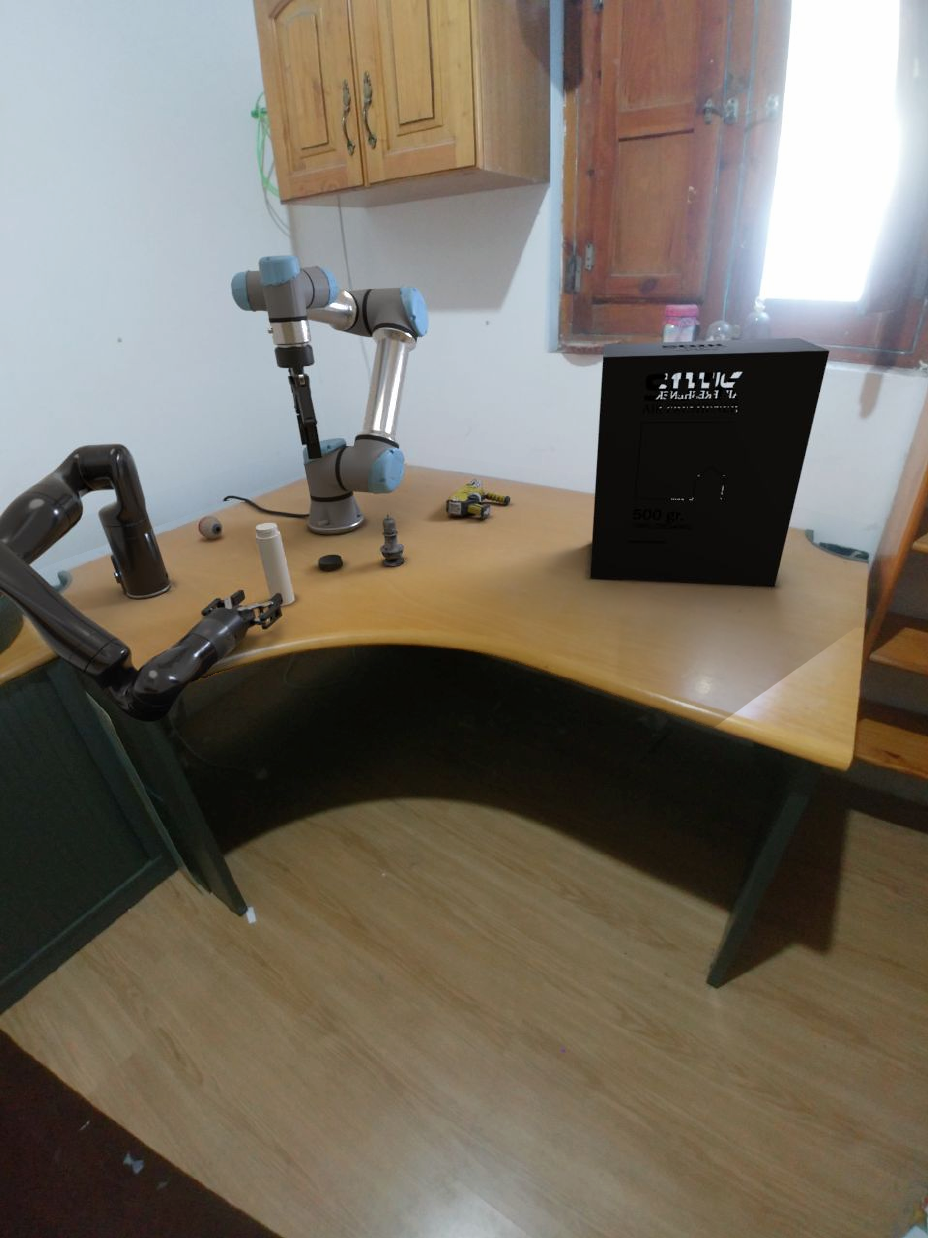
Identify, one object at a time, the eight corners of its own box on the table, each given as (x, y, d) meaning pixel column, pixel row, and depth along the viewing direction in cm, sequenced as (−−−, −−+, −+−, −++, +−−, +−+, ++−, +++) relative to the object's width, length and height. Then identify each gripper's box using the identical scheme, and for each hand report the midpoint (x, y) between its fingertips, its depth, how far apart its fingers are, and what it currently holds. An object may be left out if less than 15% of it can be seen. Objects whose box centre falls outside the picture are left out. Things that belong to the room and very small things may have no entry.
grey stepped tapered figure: (401, 567, 143) (396, 519, 137) (378, 566, 144) (371, 518, 138) (408, 556, 148) (403, 510, 142) (385, 556, 149) (379, 509, 143)
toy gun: (518, 484, 183) (472, 477, 187) (496, 507, 163) (444, 499, 167) (517, 499, 185) (471, 492, 189) (494, 524, 165) (443, 515, 169)
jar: (284, 607, 128) (267, 531, 120) (266, 604, 130) (248, 529, 121) (299, 597, 132) (283, 523, 123) (281, 594, 134) (264, 520, 125)
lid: (344, 560, 148) (343, 553, 147) (341, 570, 143) (340, 563, 142) (321, 562, 148) (319, 555, 147) (317, 572, 143) (316, 564, 142)
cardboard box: (755, 547, 142) (798, 337, 120) (774, 586, 125) (829, 350, 102) (592, 542, 150) (603, 344, 127) (589, 578, 133) (603, 356, 110)
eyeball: (211, 543, 162) (206, 522, 159) (197, 539, 165) (190, 519, 162) (230, 535, 166) (224, 515, 163) (215, 532, 169) (209, 511, 166)
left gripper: (186, 650, 112) (235, 608, 126) (254, 658, 109) (296, 614, 123) (175, 615, 109) (226, 576, 122) (244, 622, 105) (289, 581, 119)
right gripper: (269, 341, 131) (288, 440, 141) (278, 352, 110) (300, 467, 121) (304, 338, 132) (321, 436, 143) (319, 348, 112) (337, 462, 122)
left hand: (261, 595), depth 122 cm, fingers open, 8 cm apart
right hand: (311, 451), depth 132 cm, fingers open, 13 cm apart
